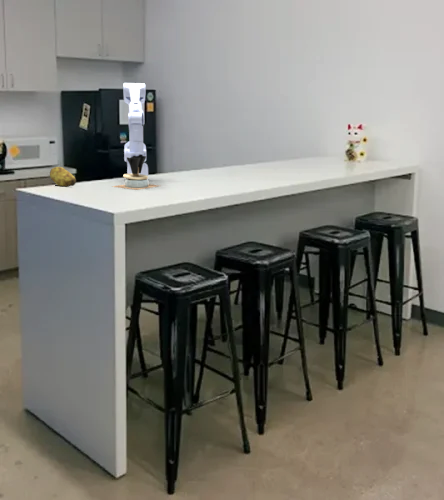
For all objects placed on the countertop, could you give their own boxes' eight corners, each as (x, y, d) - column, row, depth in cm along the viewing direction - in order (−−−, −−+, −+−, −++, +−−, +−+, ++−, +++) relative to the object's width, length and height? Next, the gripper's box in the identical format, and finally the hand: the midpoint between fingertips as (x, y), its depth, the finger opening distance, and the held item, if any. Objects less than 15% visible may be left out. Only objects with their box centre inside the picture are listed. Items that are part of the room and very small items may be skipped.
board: (136, 185, 278) (136, 182, 278) (161, 188, 271) (161, 185, 271) (111, 188, 265) (111, 186, 265) (136, 192, 258) (136, 189, 258)
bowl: (135, 183, 274) (135, 177, 274) (152, 186, 269) (152, 179, 268) (120, 186, 266) (120, 179, 266) (137, 188, 261) (137, 181, 261)
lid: (130, 174, 273) (130, 164, 272) (151, 177, 270) (152, 167, 269) (118, 177, 264) (119, 166, 263) (141, 180, 261) (141, 170, 260)
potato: (59, 188, 263) (58, 169, 261) (47, 184, 273) (46, 166, 271) (78, 187, 268) (77, 168, 266) (65, 183, 277) (65, 165, 276)
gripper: (136, 139, 271) (136, 171, 274) (119, 141, 258) (119, 174, 261) (150, 140, 269) (150, 172, 272) (134, 142, 256) (134, 175, 259)
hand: (136, 173), depth 267 cm, fingers closed on lid, 3 cm apart
